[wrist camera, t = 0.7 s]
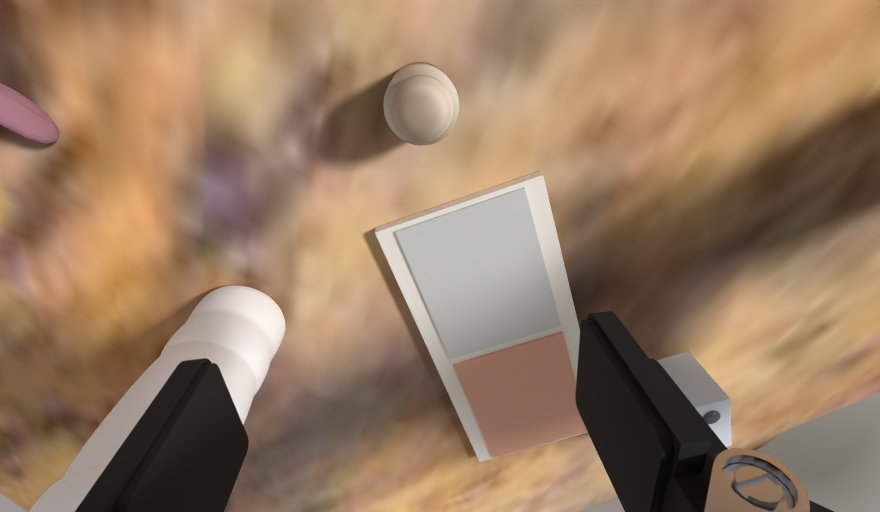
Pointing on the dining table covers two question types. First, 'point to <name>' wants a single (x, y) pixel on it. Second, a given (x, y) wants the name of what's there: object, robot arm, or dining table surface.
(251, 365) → the water bottle
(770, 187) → the dining table surface
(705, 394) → the die
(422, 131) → the pawn
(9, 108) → the video game controller
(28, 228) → the dining table surface
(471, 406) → the board
